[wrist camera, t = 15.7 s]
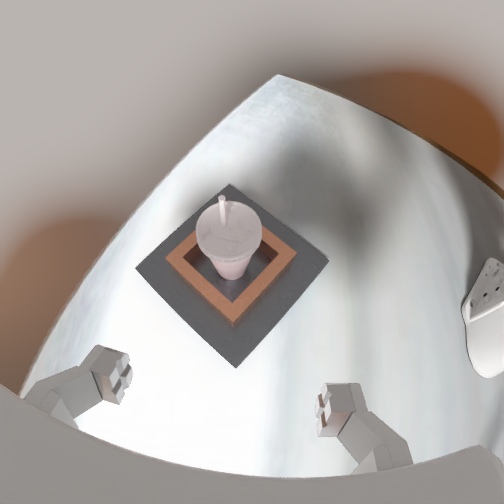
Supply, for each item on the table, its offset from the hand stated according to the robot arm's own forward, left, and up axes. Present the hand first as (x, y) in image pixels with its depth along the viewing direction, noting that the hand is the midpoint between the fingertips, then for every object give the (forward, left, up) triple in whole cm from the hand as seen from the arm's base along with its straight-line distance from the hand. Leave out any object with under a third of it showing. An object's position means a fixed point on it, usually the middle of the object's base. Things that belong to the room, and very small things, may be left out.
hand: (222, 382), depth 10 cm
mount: (-10, -9, -22) cm, 26 cm away
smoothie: (-10, -9, -21) cm, 25 cm away
